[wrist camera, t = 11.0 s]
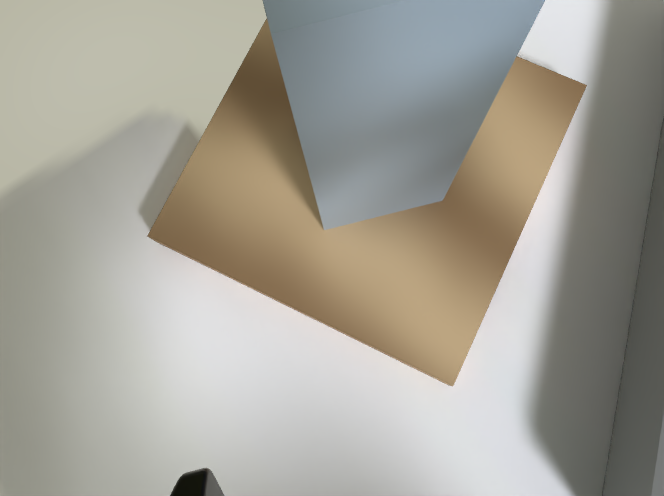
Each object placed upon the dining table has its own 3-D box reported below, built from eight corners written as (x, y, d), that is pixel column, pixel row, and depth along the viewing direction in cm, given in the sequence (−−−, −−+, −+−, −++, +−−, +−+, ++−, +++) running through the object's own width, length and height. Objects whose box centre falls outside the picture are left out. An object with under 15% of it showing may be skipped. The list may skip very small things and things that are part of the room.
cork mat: (448, 385, 20) (453, 386, 19) (157, 242, 21) (147, 236, 20) (576, 98, 21) (586, 85, 20) (298, -18, 23) (295, -35, 22)
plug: (442, 200, 20) (566, -41, 8) (324, 230, 20) (271, 33, 8) (410, 90, 20) (478, -279, 9) (296, 119, 20) (210, -211, 9)
